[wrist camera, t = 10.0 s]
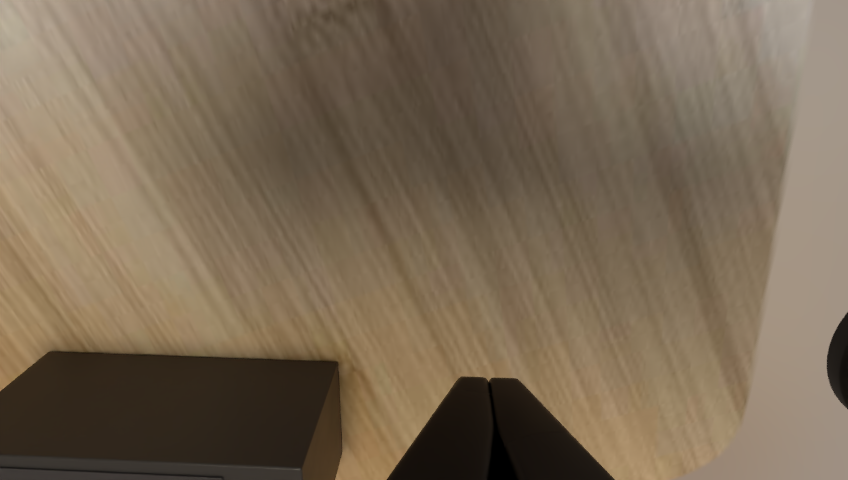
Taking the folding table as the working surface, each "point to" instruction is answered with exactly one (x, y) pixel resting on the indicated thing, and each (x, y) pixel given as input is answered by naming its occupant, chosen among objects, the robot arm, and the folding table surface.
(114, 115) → the folding table surface
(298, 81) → the folding table surface
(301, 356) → the folding table surface
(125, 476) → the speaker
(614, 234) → the folding table surface
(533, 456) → the robot arm
